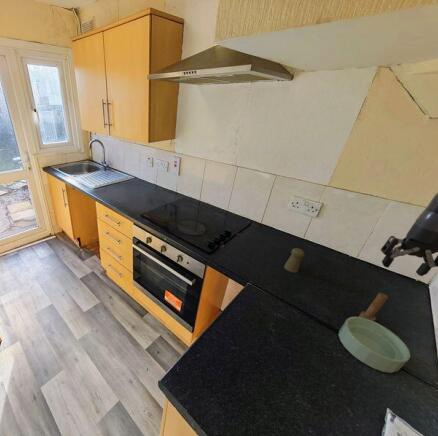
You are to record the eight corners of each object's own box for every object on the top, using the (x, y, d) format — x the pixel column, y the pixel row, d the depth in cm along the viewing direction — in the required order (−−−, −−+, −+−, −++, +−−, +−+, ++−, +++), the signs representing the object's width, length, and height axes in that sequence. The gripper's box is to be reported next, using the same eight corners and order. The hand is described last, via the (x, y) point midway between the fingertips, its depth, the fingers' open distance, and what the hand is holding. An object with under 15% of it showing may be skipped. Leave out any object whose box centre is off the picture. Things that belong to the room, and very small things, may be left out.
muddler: (369, 318, 85) (387, 293, 79) (373, 327, 82) (393, 301, 76) (356, 315, 86) (373, 289, 80) (360, 323, 83) (378, 297, 77)
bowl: (384, 339, 77) (394, 327, 75) (409, 383, 65) (422, 371, 62) (332, 322, 83) (339, 310, 80) (346, 359, 70) (355, 347, 67)
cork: (286, 263, 113) (294, 244, 108) (299, 269, 110) (308, 250, 105) (282, 268, 109) (290, 249, 104) (296, 274, 106) (304, 255, 101)
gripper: (409, 225, 65) (379, 270, 72) (478, 239, 60) (438, 284, 68) (395, 215, 71) (369, 257, 79) (457, 227, 66) (423, 270, 74)
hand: (401, 270), depth 73 cm, fingers open, 8 cm apart
